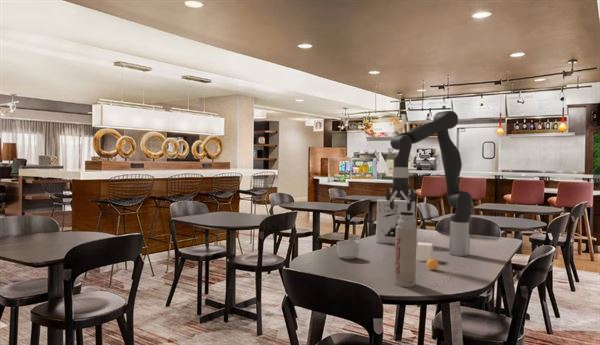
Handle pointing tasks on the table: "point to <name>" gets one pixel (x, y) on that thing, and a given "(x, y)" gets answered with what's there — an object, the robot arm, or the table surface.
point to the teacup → (348, 249)
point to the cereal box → (390, 219)
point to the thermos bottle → (405, 251)
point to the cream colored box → (424, 251)
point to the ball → (432, 264)
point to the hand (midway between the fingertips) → (400, 210)
